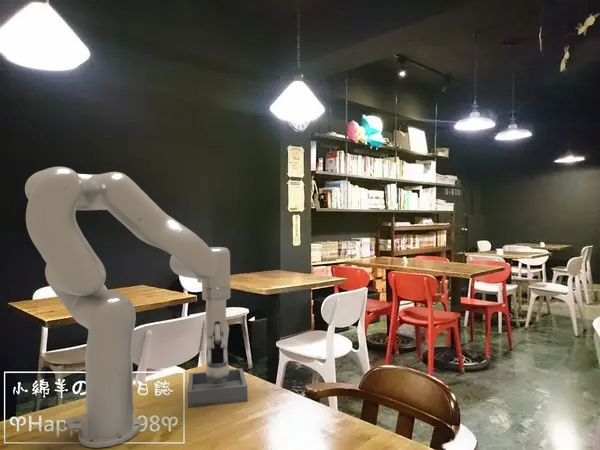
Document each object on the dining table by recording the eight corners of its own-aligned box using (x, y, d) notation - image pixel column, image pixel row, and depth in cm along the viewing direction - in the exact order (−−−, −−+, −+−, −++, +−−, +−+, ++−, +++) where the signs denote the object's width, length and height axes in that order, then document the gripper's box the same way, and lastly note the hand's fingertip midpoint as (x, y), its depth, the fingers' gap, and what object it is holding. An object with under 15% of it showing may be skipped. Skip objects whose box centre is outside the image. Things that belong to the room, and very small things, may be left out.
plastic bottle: (221, 375, 117) (220, 305, 116) (234, 382, 112) (233, 309, 111) (200, 381, 112) (199, 308, 112) (213, 389, 107) (212, 313, 107)
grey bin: (188, 407, 104) (187, 391, 104) (189, 387, 116) (189, 373, 116) (247, 401, 107) (247, 385, 107) (242, 381, 120) (242, 368, 120)
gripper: (202, 288, 119) (202, 350, 119) (202, 299, 102) (203, 371, 103) (228, 286, 121) (228, 348, 121) (232, 298, 104) (233, 369, 104)
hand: (217, 358), depth 112 cm, fingers closed on plastic bottle, 5 cm apart
